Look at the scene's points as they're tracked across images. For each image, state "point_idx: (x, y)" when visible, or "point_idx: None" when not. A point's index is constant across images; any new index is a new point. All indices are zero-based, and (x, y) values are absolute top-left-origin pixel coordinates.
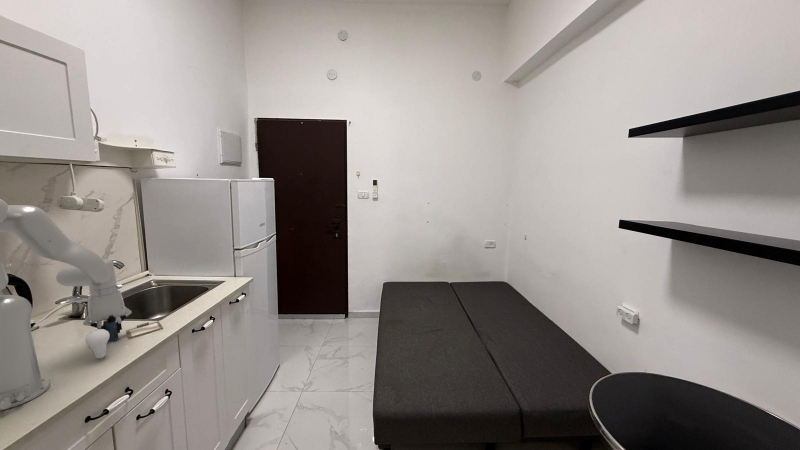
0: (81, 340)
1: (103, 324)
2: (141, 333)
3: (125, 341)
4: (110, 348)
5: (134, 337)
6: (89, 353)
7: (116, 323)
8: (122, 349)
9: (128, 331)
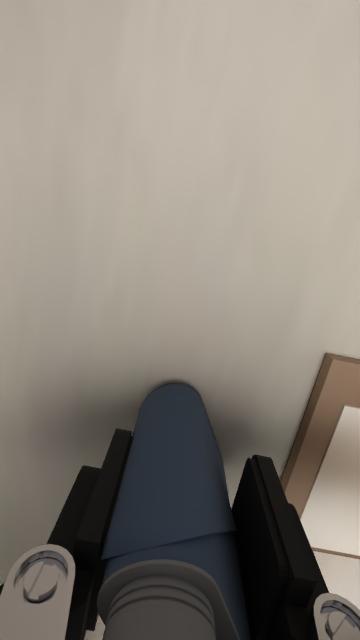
0: (2, 161)
1: (105, 617)
2: (356, 552)
3: None
4: None
5: None
6: (23, 518)
7: (268, 622)
8: None
9: (331, 410)
